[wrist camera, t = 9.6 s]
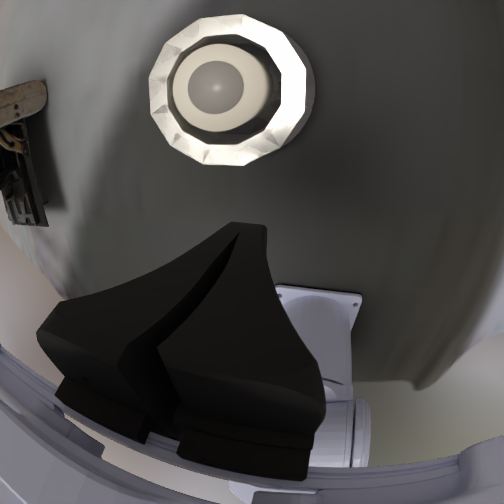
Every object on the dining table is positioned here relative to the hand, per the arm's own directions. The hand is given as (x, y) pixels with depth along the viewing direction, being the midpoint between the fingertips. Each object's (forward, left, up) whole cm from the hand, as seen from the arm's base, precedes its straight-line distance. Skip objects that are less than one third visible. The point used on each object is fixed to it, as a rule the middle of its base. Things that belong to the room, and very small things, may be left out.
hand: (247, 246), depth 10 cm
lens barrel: (+6, +3, -10) cm, 12 cm away
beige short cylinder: (+6, +3, -10) cm, 12 cm away
